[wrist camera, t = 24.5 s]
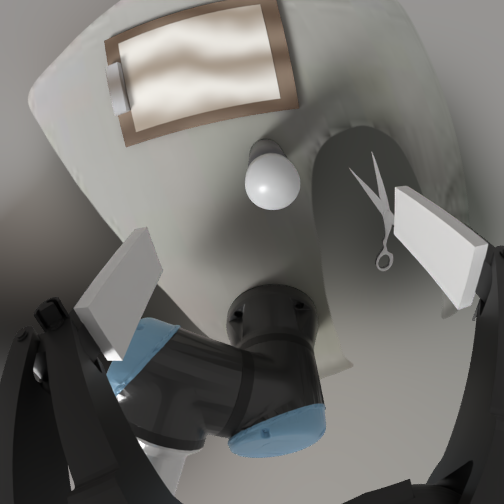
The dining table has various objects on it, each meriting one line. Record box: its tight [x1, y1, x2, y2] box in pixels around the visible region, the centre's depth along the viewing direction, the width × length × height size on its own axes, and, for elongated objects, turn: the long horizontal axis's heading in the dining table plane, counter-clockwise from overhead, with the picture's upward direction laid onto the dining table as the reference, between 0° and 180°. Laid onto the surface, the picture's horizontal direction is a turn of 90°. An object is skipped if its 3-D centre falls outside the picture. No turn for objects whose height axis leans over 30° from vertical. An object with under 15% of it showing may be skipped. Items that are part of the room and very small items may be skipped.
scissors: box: [350, 154, 395, 271], centre depth 36 cm, size 11×1×20 cm
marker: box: [245, 139, 300, 210], centre depth 27 cm, size 4×4×14 cm
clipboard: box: [104, 0, 299, 147], centre depth 26 cm, size 16×22×2 cm
